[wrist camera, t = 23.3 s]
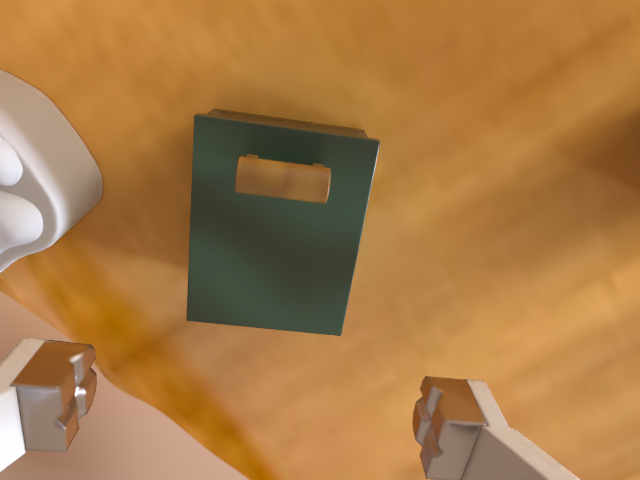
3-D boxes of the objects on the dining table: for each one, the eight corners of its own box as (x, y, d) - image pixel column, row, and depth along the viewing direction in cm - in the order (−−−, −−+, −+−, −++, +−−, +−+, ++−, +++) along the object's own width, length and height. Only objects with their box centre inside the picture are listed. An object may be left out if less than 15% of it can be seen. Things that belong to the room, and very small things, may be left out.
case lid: (196, 112, 28) (177, 130, 24) (379, 138, 29) (393, 159, 25) (188, 315, 34) (171, 359, 30) (340, 330, 35) (346, 375, 31)
